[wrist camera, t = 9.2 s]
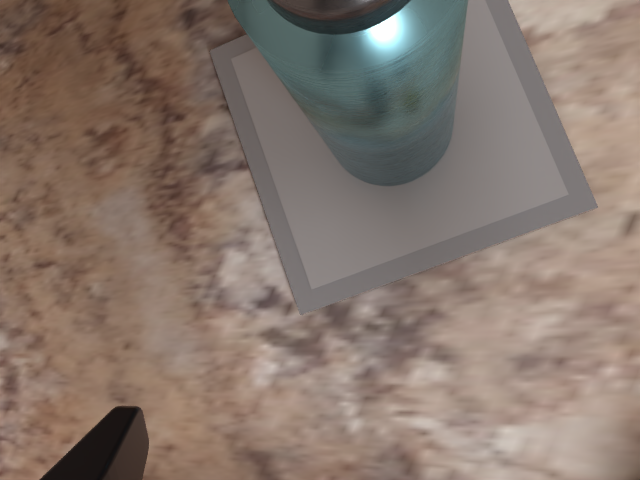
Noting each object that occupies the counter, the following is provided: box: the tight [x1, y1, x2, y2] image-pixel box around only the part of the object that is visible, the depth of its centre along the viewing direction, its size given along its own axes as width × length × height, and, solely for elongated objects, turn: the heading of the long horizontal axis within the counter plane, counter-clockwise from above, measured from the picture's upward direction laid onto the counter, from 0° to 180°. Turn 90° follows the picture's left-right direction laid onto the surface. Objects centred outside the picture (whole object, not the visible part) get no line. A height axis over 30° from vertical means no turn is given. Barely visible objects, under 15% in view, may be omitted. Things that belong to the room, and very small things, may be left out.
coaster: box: [210, 0, 598, 315], centre depth 23 cm, size 12×12×1 cm
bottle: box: [228, 0, 468, 186], centre depth 17 cm, size 5×5×13 cm
